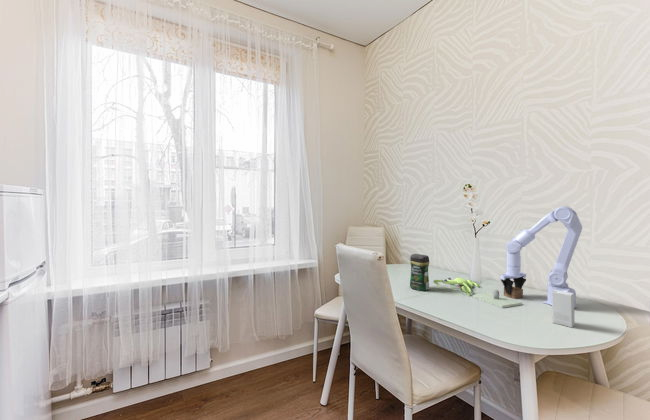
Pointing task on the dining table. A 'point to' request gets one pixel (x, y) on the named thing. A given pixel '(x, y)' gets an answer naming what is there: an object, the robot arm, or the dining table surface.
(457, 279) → the figurine
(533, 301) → the dining table surface
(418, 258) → the coffee jar
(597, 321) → the dining table surface
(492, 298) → the board
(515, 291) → the collar
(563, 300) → the skincare box
